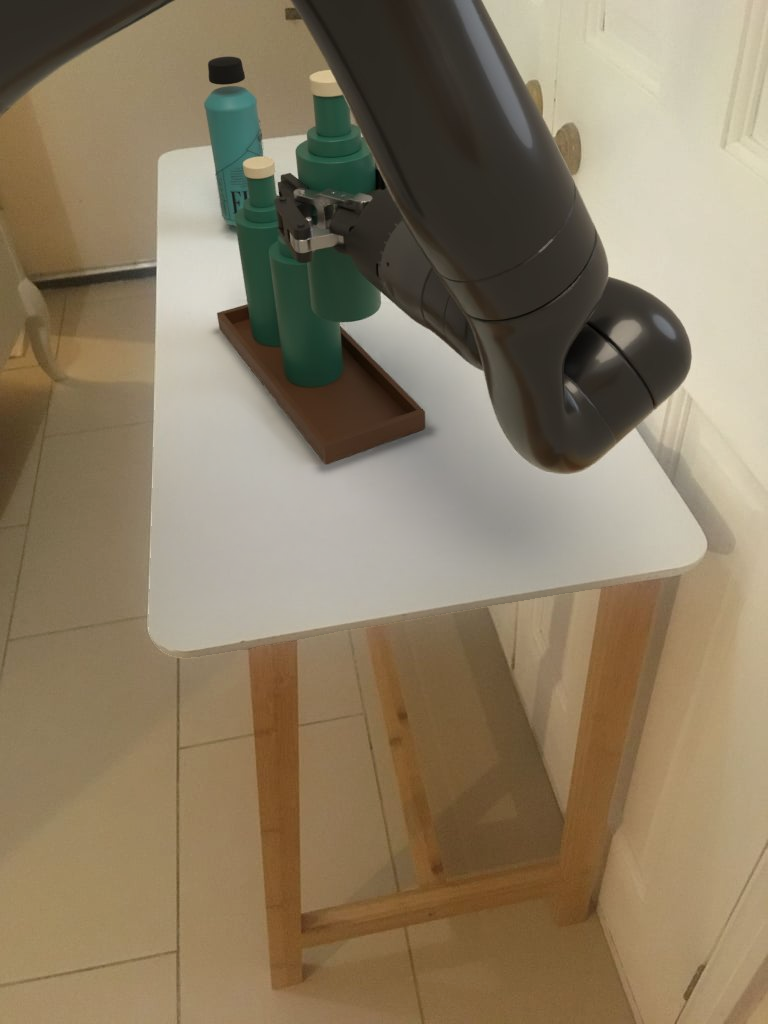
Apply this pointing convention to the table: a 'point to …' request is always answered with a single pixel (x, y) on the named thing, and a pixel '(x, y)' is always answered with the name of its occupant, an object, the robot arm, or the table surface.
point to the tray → (331, 395)
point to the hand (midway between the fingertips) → (323, 177)
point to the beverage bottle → (231, 133)
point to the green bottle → (344, 167)
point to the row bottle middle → (302, 324)
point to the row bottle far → (259, 248)
